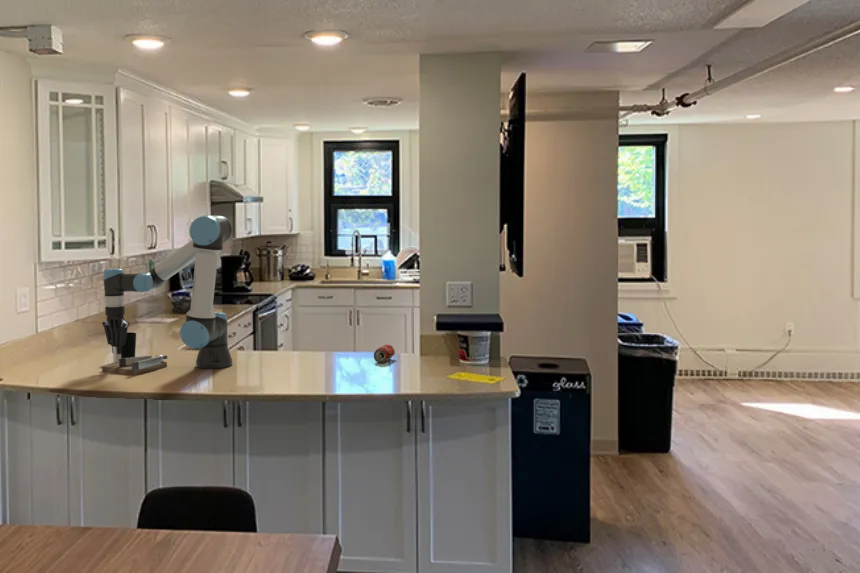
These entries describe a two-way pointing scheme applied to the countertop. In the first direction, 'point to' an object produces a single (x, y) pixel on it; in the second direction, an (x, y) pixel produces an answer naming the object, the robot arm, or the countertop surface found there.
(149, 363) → the tongs fixed
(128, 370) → the board
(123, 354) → the cup
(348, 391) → the countertop surface
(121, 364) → the tong arm
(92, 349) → the countertop surface
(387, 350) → the beverage can
